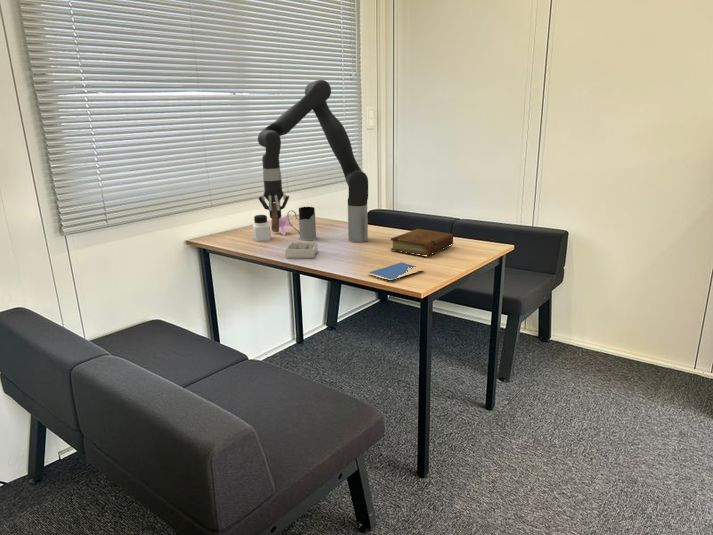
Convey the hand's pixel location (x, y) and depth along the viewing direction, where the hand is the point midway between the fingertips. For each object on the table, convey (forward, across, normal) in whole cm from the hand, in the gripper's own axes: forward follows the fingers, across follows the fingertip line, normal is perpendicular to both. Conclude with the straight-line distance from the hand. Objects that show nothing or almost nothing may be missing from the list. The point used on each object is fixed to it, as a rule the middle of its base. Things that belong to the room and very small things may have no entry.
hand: (275, 218), depth 220 cm
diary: (+16, -64, -5) cm, 66 cm away
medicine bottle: (+15, +12, -21) cm, 28 cm away
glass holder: (+15, -8, -22) cm, 28 cm away
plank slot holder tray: (+15, -12, +6) cm, 20 cm away
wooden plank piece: (+5, 0, +3) cm, 6 cm away
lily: (+15, +4, -35) cm, 38 cm away
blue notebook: (+16, -51, +30) cm, 62 cm away
